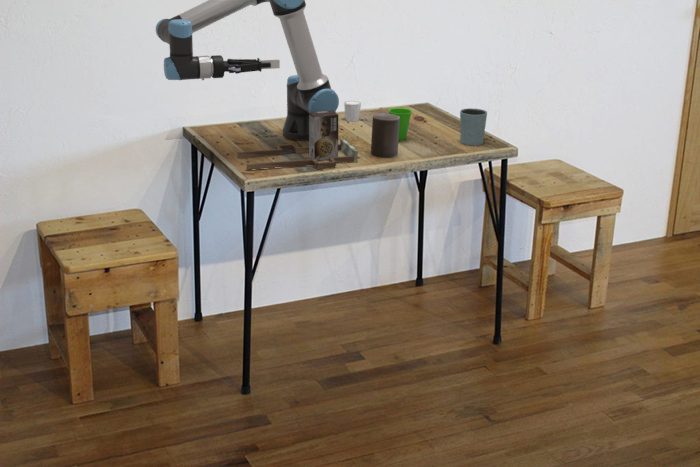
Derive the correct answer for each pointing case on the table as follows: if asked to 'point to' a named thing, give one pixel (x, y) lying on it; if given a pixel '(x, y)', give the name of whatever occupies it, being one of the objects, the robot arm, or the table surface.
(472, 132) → the grey plant pot
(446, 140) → the table surface
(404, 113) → the cup
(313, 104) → the robot arm
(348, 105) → the white ribbed ramekin
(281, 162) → the trap lane
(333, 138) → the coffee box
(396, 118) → the pillar candle
